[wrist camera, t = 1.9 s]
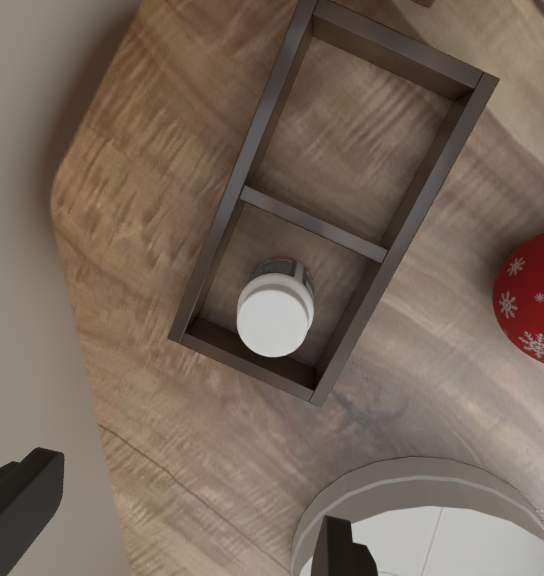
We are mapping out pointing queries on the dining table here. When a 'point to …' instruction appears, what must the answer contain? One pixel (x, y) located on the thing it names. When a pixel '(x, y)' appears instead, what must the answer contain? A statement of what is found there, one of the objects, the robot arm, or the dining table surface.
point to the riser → (424, 2)
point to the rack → (385, 255)
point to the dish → (428, 520)
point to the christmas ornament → (522, 297)
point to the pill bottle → (276, 307)
